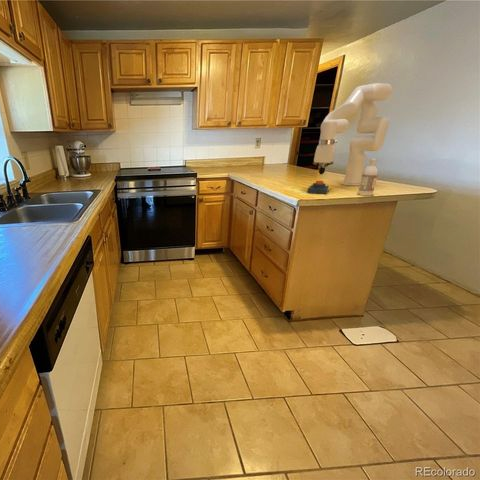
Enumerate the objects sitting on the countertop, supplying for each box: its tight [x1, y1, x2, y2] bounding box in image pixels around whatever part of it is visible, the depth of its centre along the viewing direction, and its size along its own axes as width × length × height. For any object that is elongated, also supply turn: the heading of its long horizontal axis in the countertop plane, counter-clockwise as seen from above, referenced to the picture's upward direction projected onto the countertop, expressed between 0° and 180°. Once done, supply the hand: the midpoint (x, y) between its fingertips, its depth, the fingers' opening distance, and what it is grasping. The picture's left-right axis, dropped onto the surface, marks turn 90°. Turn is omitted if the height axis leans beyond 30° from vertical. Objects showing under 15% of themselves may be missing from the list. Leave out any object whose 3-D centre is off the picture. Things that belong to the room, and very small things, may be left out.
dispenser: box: [307, 182, 330, 195], centre depth 166 cm, size 13×10×5 cm
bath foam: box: [357, 158, 379, 196], centre depth 151 cm, size 7×7×20 cm
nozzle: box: [315, 180, 324, 184], centre depth 165 cm, size 4×4×2 cm
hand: (321, 174), depth 163 cm, fingers closed
